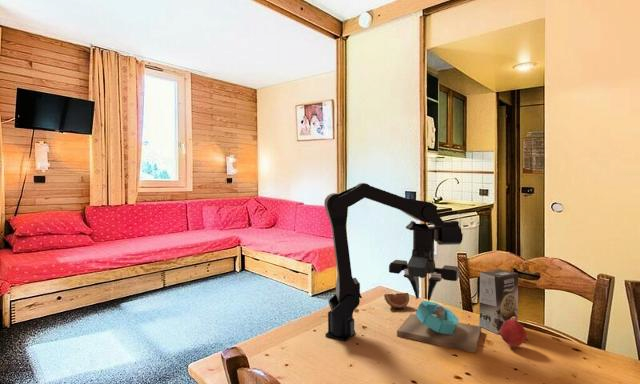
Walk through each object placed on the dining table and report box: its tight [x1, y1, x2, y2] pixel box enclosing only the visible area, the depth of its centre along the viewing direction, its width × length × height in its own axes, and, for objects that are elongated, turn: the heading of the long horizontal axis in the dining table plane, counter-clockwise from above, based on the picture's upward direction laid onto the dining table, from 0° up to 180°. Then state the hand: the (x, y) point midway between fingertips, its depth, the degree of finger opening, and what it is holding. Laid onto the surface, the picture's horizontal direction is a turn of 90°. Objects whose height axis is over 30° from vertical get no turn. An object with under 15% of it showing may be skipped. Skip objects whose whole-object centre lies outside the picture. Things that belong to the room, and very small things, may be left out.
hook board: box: [396, 305, 482, 354], centre depth 98 cm, size 20×14×8 cm
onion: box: [499, 317, 527, 349], centre depth 90 cm, size 6×6×8 cm
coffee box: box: [478, 268, 519, 335], centre depth 102 cm, size 9×6×16 cm
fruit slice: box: [383, 292, 410, 310], centre depth 119 cm, size 8×7×5 cm
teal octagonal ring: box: [415, 300, 460, 335], centre depth 99 cm, size 11×11×3 cm
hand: (423, 299), depth 100 cm, fingers open, 3 cm apart
